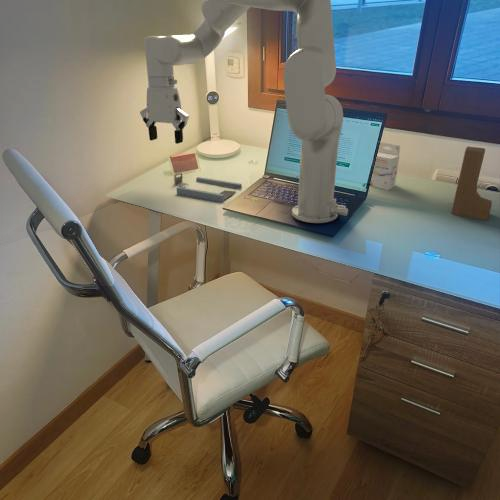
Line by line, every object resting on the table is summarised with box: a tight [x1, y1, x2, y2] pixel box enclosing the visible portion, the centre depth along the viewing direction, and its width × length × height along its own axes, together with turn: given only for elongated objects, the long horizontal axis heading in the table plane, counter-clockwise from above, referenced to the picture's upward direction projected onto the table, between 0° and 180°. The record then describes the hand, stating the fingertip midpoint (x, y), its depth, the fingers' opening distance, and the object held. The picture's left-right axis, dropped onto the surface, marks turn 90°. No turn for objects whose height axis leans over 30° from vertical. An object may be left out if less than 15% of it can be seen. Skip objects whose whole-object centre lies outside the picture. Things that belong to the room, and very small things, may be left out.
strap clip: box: [173, 172, 190, 188], centre depth 143 cm, size 8×3×4 cm, turn 44°
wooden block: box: [450, 146, 493, 221], centre depth 116 cm, size 9×4×18 cm, turn 62°
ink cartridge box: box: [369, 141, 401, 191], centre depth 135 cm, size 9×5×15 cm, turn 46°
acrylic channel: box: [176, 176, 242, 203], centre depth 137 cm, size 16×12×2 cm
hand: (166, 141), depth 137 cm, fingers open, 9 cm apart
